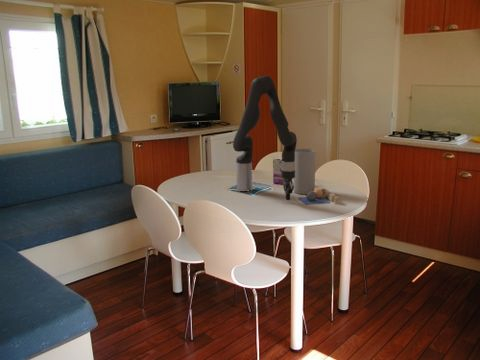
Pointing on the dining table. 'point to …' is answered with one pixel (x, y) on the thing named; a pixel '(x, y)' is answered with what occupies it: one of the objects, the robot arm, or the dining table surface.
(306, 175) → the cylinder vase
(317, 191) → the object ball
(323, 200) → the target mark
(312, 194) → the grey ball
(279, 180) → the candy bar box
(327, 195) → the stopper
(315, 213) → the dining table surface
